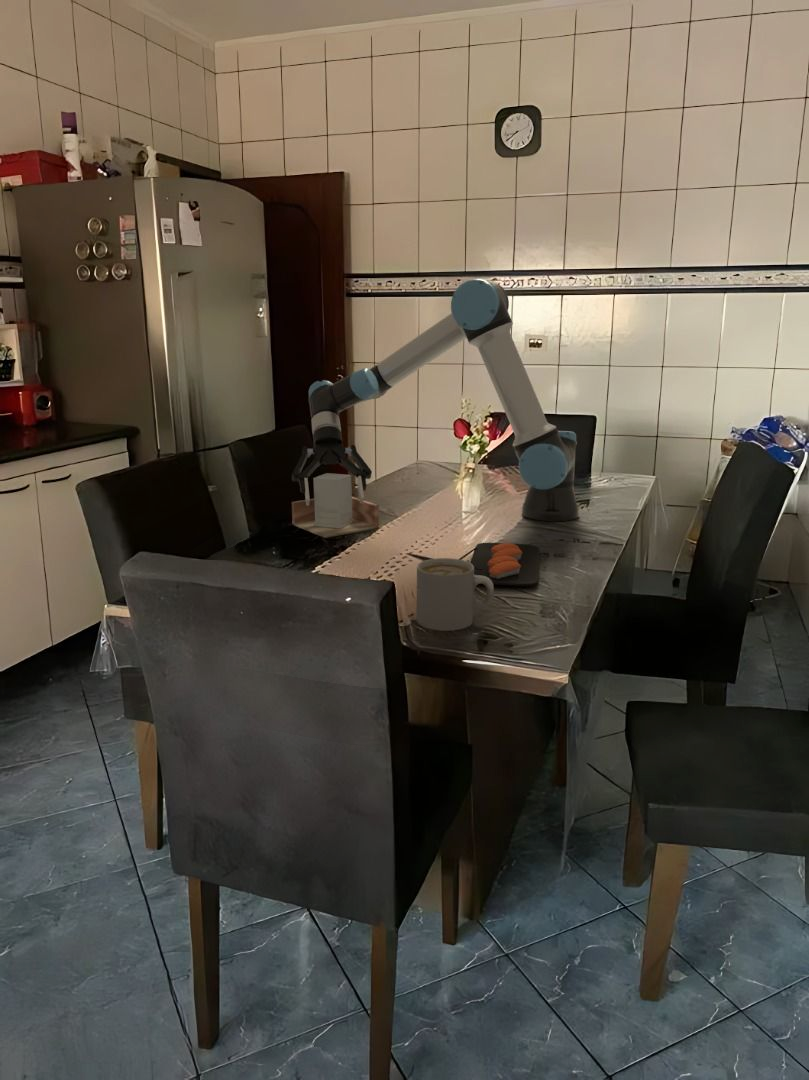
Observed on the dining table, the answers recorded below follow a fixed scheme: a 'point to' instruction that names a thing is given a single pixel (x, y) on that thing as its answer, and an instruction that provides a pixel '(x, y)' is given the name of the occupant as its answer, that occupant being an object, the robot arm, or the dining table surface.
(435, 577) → the coffee mug
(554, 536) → the dining table surface
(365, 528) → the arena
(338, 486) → the supplement box
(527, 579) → the sushi plate
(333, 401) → the robot arm
